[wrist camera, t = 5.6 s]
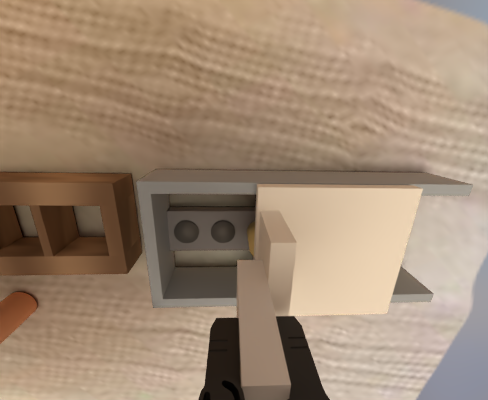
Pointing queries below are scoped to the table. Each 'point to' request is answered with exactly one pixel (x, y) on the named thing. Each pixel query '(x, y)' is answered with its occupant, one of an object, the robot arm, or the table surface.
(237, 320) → the robot arm
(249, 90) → the table surface
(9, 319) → the pin
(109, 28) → the table surface
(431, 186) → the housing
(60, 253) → the wooden compartment rack
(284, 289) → the lid
